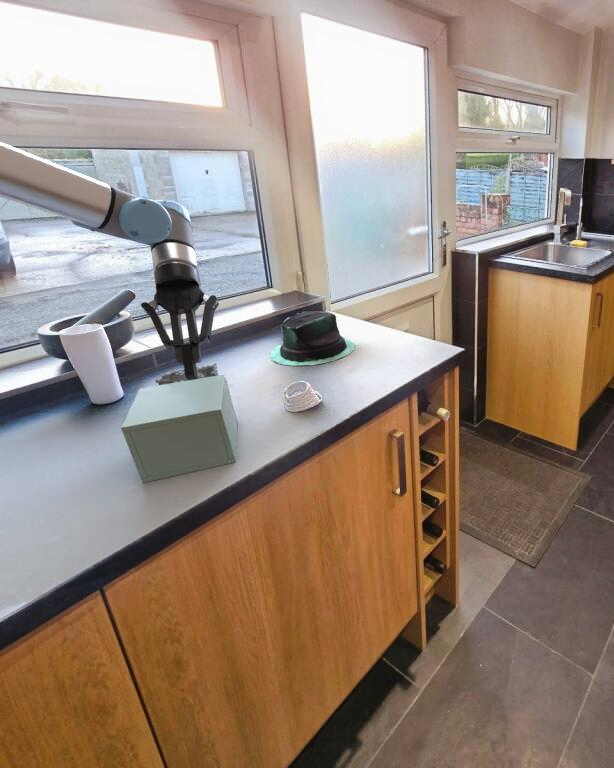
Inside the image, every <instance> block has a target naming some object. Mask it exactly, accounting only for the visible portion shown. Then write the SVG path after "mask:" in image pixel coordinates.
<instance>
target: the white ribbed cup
mask: <svg viewBox="0 0 614 768" xmlns="http://www.w3.org/2000/svg"><path fill="white" fill-rule="evenodd" d="M311 385H312V384H310V383H308V382H307V381H305V380H299V381H295V382H292V383H290V384H289V385H288V386H287V387H285V388H284V389H283V390H282V394H281V398H282V402H283V407H284V409H285V410H287V411H288V412H292V413H298V412H303V411H306V410H309V409H312V408H314V407H315V406H317V405H319V404H320V403H322V401H323V399H324V398H323V396H322V394H320V393H319V391H316V390H315V389H313V387H312V386H311ZM296 392H300V393H298V394H295V393H296Z"/></svg>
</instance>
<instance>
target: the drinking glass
mask: <svg viewBox="0 0 614 768" xmlns="http://www.w3.org/2000/svg"><path fill="white" fill-rule="evenodd" d="M58 336H59V340H60V343H61V345H62V347H63V350H64V352H65V354H66V356H67V358H68V359H69V362H70V363H71V365H72V367H73V369H74V371H75V372H76V374H77V376H78V378H79V380H80V382H81V383H82V386H83V387H84V389H85V391H86V393H87V395H88V398H89V400H90V402H91V403H92V404H94V405H107V404H112V403H114V402H117V401H119V400H120V399H122V398H123V397H124V393H125V392H124V390H123V387H122V383H121V380H120V376H119V373H118V369H117V365H116V362H115V358H114V354H113V350H112V346H111V343H110V340H109V338H108V335H107V332H106V330H105V328H104V325H102V324H100V323H85V324H78V325H73V326H69V327H66V328H64V329H61V330H60V331H58Z"/></svg>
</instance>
